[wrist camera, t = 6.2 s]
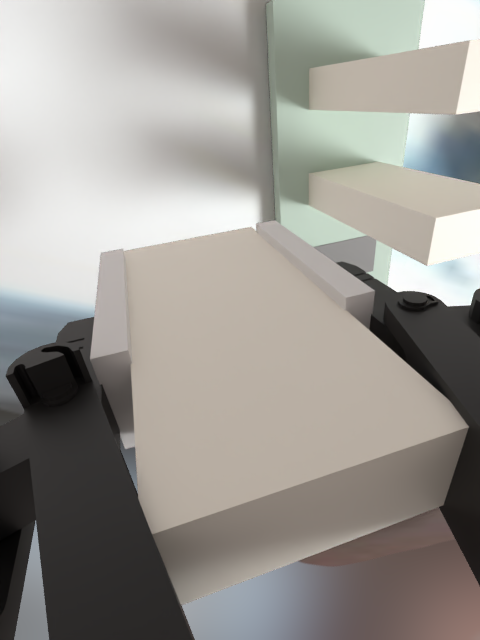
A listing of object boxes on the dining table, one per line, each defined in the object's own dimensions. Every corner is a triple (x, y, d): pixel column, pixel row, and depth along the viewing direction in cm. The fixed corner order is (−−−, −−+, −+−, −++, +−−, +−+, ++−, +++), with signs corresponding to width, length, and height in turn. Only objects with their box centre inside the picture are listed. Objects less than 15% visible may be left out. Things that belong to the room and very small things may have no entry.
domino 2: (384, 99, 22) (570, 98, 13) (308, 109, 21) (455, 114, 12) (387, 60, 21) (593, 28, 12) (309, 68, 20) (470, 40, 11)
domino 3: (374, 192, 25) (522, 242, 16) (308, 205, 24) (427, 265, 15) (377, 161, 24) (538, 196, 15) (308, 173, 23) (436, 218, 14)
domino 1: (255, 272, 16) (450, 503, 7) (137, 298, 15) (172, 608, 6) (251, 226, 15) (476, 423, 6) (124, 251, 14) (140, 537, 5)
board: (367, 386, 37) (373, 393, 36) (283, 412, 35) (288, 420, 34) (413, -6, 21) (426, -11, 20) (265, 4, 19) (273, -1, 18)
